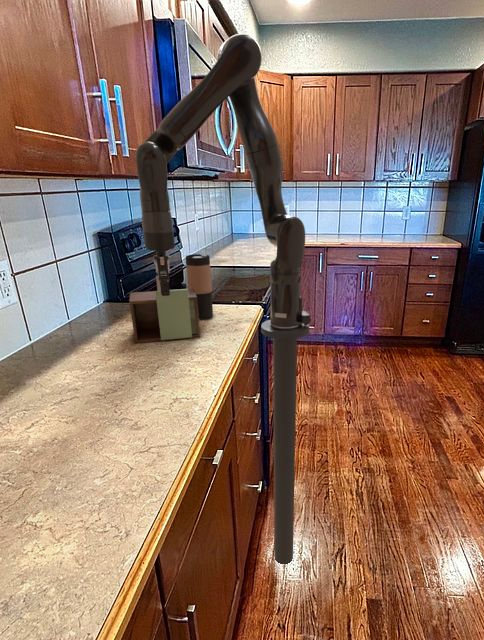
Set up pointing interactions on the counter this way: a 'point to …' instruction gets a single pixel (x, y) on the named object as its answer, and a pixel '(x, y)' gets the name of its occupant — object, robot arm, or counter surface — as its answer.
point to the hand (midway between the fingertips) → (165, 291)
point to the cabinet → (156, 316)
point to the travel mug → (200, 283)
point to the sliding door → (173, 313)
